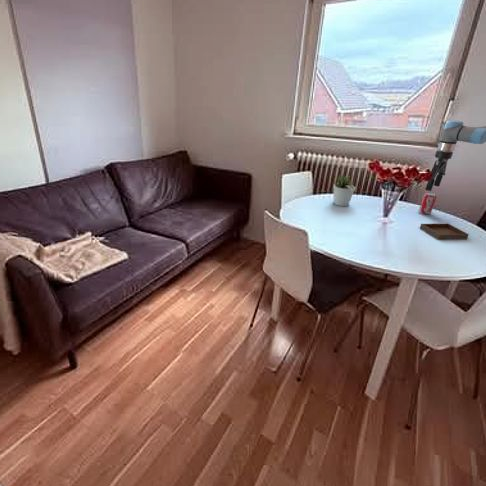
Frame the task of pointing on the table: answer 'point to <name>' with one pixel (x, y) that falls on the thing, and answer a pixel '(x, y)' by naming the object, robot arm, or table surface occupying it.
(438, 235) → the tray
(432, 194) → the beverage can
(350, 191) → the potted plant
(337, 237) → the table surface
